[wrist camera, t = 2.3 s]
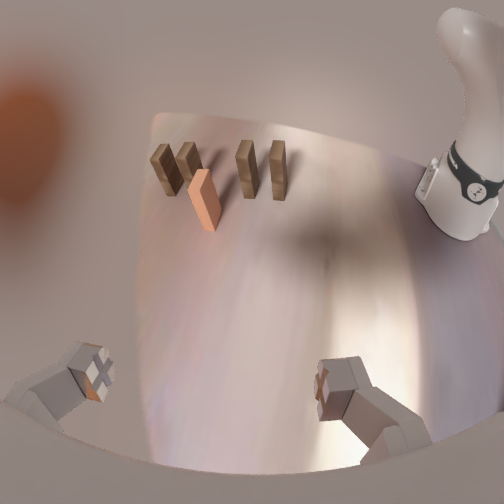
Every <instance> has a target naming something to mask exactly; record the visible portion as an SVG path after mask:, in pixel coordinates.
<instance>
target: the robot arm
mask: <svg viewBox="0 0 504 504" xmlns="http://www.w3.org/2000/svg"><path fill="white" fill-rule="evenodd" d="M437 39H438V43H439V46H440V49H441V51H442V53H443V54H444V56H445V58H446V59H447V61H448V62H449V63H450V65H451V66H452V67H453V69H454V70H455V71H456V73H457V75H458V77H459V79H460V81H461V83H462V87H463V91H464V96H465V110H464V115H463V120H462V124H461V128H460V131H459V134H458V137H457V140H456V141H454V142H453V144H452V145H451V147H450V149H449V151H448V152H447V151H446V152H443V154H442V157H441V159H440V160H438V159H437V158H435V157H433V159H432V161H430V163H429V165H428V167H427V169H426V171H425V173H424V175H423V177H422V179H421V181H420V183H419V185H418V187H417V189H416V191H415V197H416V198H417V199H418V200H419V201H420V202H421V203H422V204H423V205H424V207H425V209H426V211H427V213H428V214H429V216H430V218H431V219H432V220H433V222H434V223H435V224H436V225H437V226H438V227H439V228H440V229H441V230H442V231H444V232H445V233H446V234H448V235H449V236H451V237H453V238H456V239H459V240H464V241H469V240H472V239H474V238H476V237H477V236H478V235H479V234H480V233H486V232H488V230H489V223H488V221H489V220H490V218H491V216H492V214H493V213H494V211H495V209H496V207H497V205H498V202H499V201H498V197H497V195H498V193H499V192H500V191H501V189H502V188H503V184H504V26H502V25H500V24H498V23H497V22H495V21H493V20H491V19H489V18H487V17H485V16H484V15H481V14H478V13H475V12H471V11H467V10H464V9H460V8H455V7H453V8H450V9H448V10H447V11H445V12H444V13H443V14H442V16H441V17H440V19H439V21H438V24H437ZM109 355H110V354H109V351H108V349H107V348H105V347H102V346H97V345H93V344H89V343H83V342H80V341H75V342H73V344H72V345H71V346H70V348H69V349H68V350H67V352H66V353H65V354H64V356H63V357H62V358H61V359H60V361H59V362H58V364H53V365H51V366H49V367H47V368H45V369H43V370H41V371H39V372H37V373H35V374H33V375H30V376H29V377H26V378H24V379H23V380H20V381H18V382H16V383H15V385H14V386H13V388H12V389H11V390H10V392H9V393H8V394H7V396H6V397H5V399H4V400H3V401H2V400H1V399H0V504H504V411H502V412H499V413H497V414H495V415H493V416H491V417H490V418H488V419H486V420H484V421H482V422H480V423H478V424H476V425H475V426H473V427H470V428H468V429H466V430H464V431H462V432H460V433H458V434H455V435H453V436H451V437H449V438H446V439H444V440H441V441H439V442H436V443H434V444H433V443H432V441H431V438H430V436H429V434H428V431H427V429H426V427H425V424H424V422H423V420H422V418H421V417H420V416H418V415H417V414H415V413H414V412H412V411H411V410H409V409H408V408H406V407H405V406H404V405H402V404H401V403H399V402H398V401H396V400H395V399H393V398H392V397H390V396H389V395H387V394H386V393H385V392H383V391H382V390H380V389H379V388H377V387H372V384H371V382H370V379H369V377H368V374H367V372H366V369H365V367H364V365H363V362H362V360H361V358H360V357H359V356H356V357H346V358H336V359H323V360H319V362H318V366H317V368H318V374H316V375H315V380H314V394H315V399H316V400H318V401H319V402H318V406H317V411H318V416H319V421H332V420H342V422H343V423H344V424H345V425H346V426H347V427H348V428H349V429H350V430H351V431H352V432H353V433H354V434H355V435H356V436H357V437H358V438H359V439H360V440H361V441H362V442H363V443H364V444H365V445H366V446H367V447H368V448H369V451H368V452H367V453H366V455H365V456H364V457H363V458H362V460H361V461H360V464H361V465H356V466H351V467H346V468H339V469H333V470H326V471H317V472H308V473H295V474H273V475H250V474H228V473H215V472H205V471H197V470H190V469H183V468H177V467H171V466H166V465H161V464H156V463H151V462H147V461H142V460H139V459H135V458H131V457H128V456H124V455H120V454H117V453H114V452H111V451H107V450H105V449H101V448H98V447H96V446H93V445H90V444H88V443H85V442H82V441H80V440H77V439H75V438H72V437H70V436H68V435H65V434H63V432H64V430H63V428H62V427H61V425H60V424H59V423H58V422H57V421H58V420H60V419H61V418H62V417H64V416H65V415H66V414H68V413H69V412H70V411H72V410H73V409H74V408H76V407H77V406H78V405H79V404H81V403H82V402H84V401H85V400H86V398H87V399H90V400H94V401H98V402H103V401H104V399H105V397H106V395H107V393H108V388H107V386H109V385H111V384H112V383H113V381H114V379H115V373H116V371H115V366H114V363H113V362H112V361H111V360H110V359H109V358H108V357H109Z"/></svg>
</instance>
